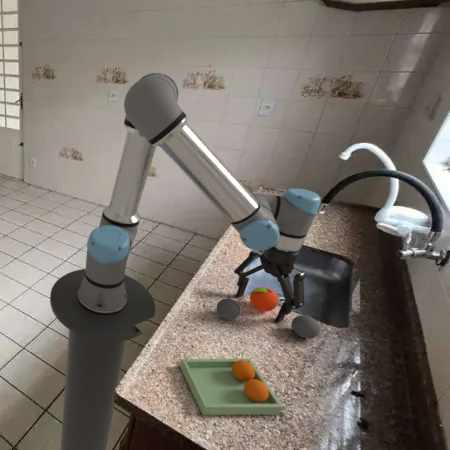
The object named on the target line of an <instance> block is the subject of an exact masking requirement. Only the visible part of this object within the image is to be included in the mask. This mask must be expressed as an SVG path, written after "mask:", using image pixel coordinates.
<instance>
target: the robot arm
mask: <svg viewBox="0 0 450 450" xmlns="http://www.w3.org/2000/svg"><path fill="white" fill-rule="evenodd" d="M178 98H179V88H178V85H177V82H175V80H174V79H173V78H172V77H170V76H169V75H167V74H164V73H161V72H152V73H147V74H146V75H144V76H142V77H141V78H139V79H138V80H137V81H136V82H135V83H133V84H132V86H130V87H129V89H128V91H127V93H126V94H125V97H124V101H123V103H124V105H123V108H124V114H125V117H124V122H123V125H124V127H125V129H126V131H127V132H126V136H125V141H124V145H123V147H122V153H121V156H120V161H119V165H118V169H117V173H116V177H115V180H114V185H113V189H112V193H111V196H110V201H109V204H108V205H106V206H104V207H103V210H102V214H101V217H100V221H99V225H98V226H97V227H95V228H94V229H93V230H92V231H90V233H89V235H88V239H87V242H86V257H85V259H86V260H85V268H84V269H85V276H84V278H83V280H82V283H81V284H80V286H79V288H78V293H77V298H78V301H79V303H80V304H81V306H83V307H84V308H85V309H86V310H88V311H90V312H92V313H95V314H100V315H113V314H116V313H119V312H121V311H122V310H123V309H124V308H125V306H126V303H127V294H126V289H125V285H124V276H125V275H126V269H127V263H128V258H129V255H130V253H131V249H132V247H133V244H134V241H135V239H136V236H137V233H138V227H139V224H140V221H141V214H140V213H139V212H138V209H139V206H140V204H141V199H142V198H143V197H142V195H143V193H144V190H145V186H146V182H147V180H148V176H149V173H150V169H151V166H152V162H153V160H154V156H155V152H156V149H157V147H159V148H160V149H161V150H163V152H164V153H165V154H166V155H167V156H168V157H169V159H171V160H172V162H173V163H174V164H175V165H176V166H177V167H178V169H180V171H182V173H183V174H184V175H185V176H186V177H187V178H188V179H189V180H190V181H191V183H193V185H194V186H195V187H196V188H197V189H198V190H199V191H200V192H201V193H202V194H203V195H204V197H206V198H207V199H208V201H209V202H210V203H211V204H212V205H213V206H214V208H216V209H217V211H219V213H220V214H221V215H222V216H223V218H225V219H226V220H227V221H228V223H229V224H230V225H231V226H232V227H233V228H234V229H235V230H236V232H237V233H238V235H239V239H240V241H241V242H242V244H243V245H244V246H245V247H247V248H248V249H250V250H251V251H249V253H248V256H247V257H246V258H245V259H244V261H242V262H241V263H240V264H239V265H238V266H237V267H236V268H235V269H234V270H233V274H234V275H235V274H236V275H237V276H238V279H237V282H236V286H237V287H238V289H237V291H236V294H235V298H237V299H238V298H241V297H243V296H244V295H245V292H246V289H247V287H248V284H249V281H250V277H249V276H252V275H253V274H255V273H258V272H259V271H262V270H263V271H264V272H265V273H266V274H270V275H271V276H272V277H274V278H276V279H277V282H278V283H279V285H280V288H281V291H282V294H283V297H284V300H285V301H284V302H283V303H282V304H281V306H280V309H279V311H278V313H277V316H276V318H275V320H274V322H276V323H277V324H278V323H280V322H282V321H283V320H284V319H285V317H286V316H288V315H290V314H291V313H292V312H293V309H294V308H295V309H300V308H302V307H304V306H305V285H304V281H305V278H306V275H307V274H306V272H305V271H299V270H296V269H295V267H294V265H295V264H296V261H297V259H298V257H299V254H300V253H301V252H300V250H301V249H302V247H303V245H304V242H305V240H306V238H307V235H308V233H309V230H310V228H311V226H312V224H313V223H314V220H315V218H316V216H317V214H318V211H319V208H320V205H321V202H322V199H321V196H320V195H319V194H317V193H316V192H314V191H312V190H308V189H304V188H289V189H287V190H286V191H285V193H283V195H273V194H267V193H259V192H252V191H249V190H248V189H247V187H246V186H244V184H243V183H242V182H241V181H240V180H239V179H238V177H236V175H234V173H233V172H232V171H231V170H230V168H228V166H227V165H225V163H224V162H223V161H222V160H221V159H220V158H219V157H218V156H217V155H216V154H215V152H214V151H213V150H212V149H211V148H210V147H209V145H207V144H206V142H205V141H204V139H202V138H201V137H200V136H199V135H198V133H196V131H195V130H194V129H193V128H192V127H191V126H190V125H189V124H188V115H187V114H186V112H185V111H184V110H183V109H182V108H181V107H180V106H179V104H178ZM260 251H262V252H260ZM256 259H259V261H260V264H259V265H257V266H255V267H253V268H252V269H248V270H247V271H245V270H246V269H247V268H248V267H249V266H250V265H251V264H252V263H253V262H254V261H255V260H256ZM290 274H292V277H291V276H290ZM291 278H292V280H293V281H292V283H291Z"/></svg>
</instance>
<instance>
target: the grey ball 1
mask: <svg viewBox="0 0 450 450" xmlns="http://www.w3.org/2000/svg"><path fill="white" fill-rule="evenodd" d="M215 307H216V312H217V314H218V316H219V317H220V318H222V319H223V320H225V321H226V320H227V321H232V320H236V319H237V318H239V316H240V315H241V313H242V312H241V310H242V309H241V306H240V304H239V303H238V302H237V301H236V300H234V299H233V298H222V299H220V300H219V301H218V302H217V304H216V306H215Z"/></svg>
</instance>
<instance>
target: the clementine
mask: <svg viewBox="0 0 450 450" xmlns="http://www.w3.org/2000/svg"><path fill="white" fill-rule="evenodd" d="M249 301H250V304H251V305H252V307H253V308H254V309H256V310H258V311H260V312H271V311H273V310H274V309H276V308H277V306H278V305H279V297H278V295H277V294H276V292H275V291H274V290H272V289H271V288H268V287H263V286H262V287H256V288H254V289H253V290H252V291H251V292H249Z"/></svg>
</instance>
